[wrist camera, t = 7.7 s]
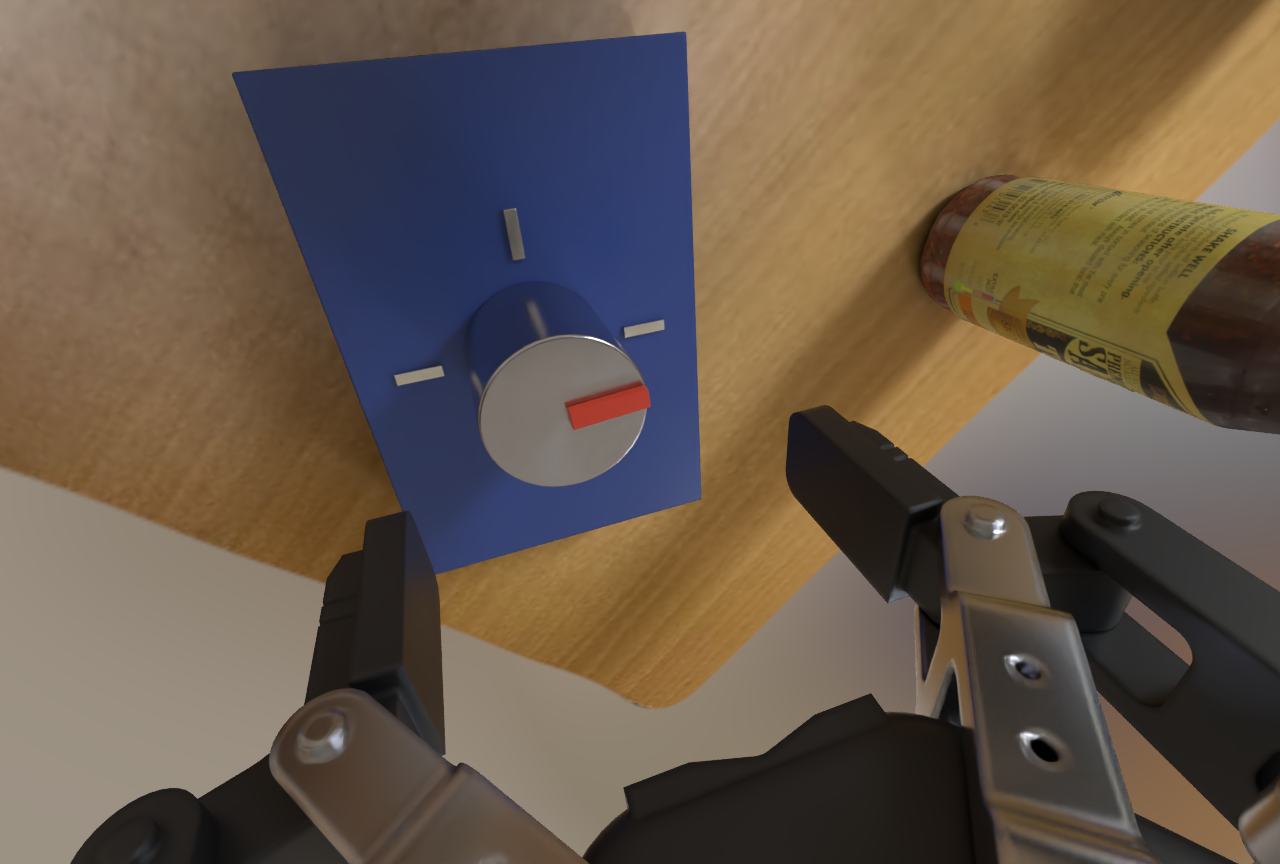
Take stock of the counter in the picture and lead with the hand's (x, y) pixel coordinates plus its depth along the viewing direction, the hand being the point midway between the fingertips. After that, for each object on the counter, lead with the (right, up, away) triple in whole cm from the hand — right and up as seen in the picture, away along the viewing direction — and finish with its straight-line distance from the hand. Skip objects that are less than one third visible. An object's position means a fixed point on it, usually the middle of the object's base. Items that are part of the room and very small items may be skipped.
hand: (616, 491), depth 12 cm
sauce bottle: (+16, +10, +15) cm, 24 cm away
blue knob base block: (-4, +6, +10) cm, 12 cm away
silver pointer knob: (-3, +4, +6) cm, 8 cm away
